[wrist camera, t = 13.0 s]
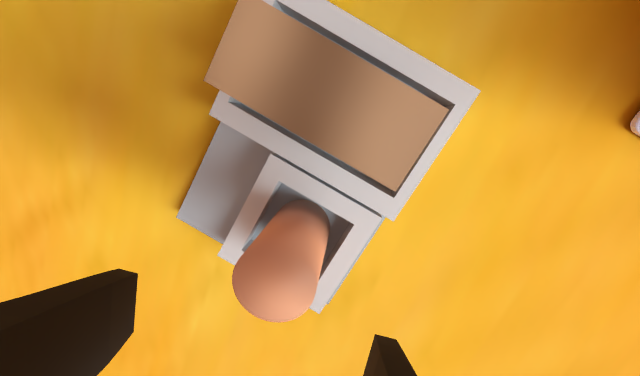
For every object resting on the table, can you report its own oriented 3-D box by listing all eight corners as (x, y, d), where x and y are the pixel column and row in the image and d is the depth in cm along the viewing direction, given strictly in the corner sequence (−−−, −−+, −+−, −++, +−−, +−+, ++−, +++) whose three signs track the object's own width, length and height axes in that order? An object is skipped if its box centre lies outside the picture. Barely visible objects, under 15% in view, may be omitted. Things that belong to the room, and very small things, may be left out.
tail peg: (341, 225, 18) (333, 283, 12) (305, 263, 19) (279, 337, 12) (298, 188, 18) (267, 226, 11) (263, 227, 18) (216, 284, 12)
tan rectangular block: (420, 112, 16) (449, 109, 11) (383, 169, 17) (395, 191, 12) (278, 29, 16) (242, -11, 11) (249, 91, 17) (203, 80, 12)
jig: (461, 95, 16) (480, 90, 14) (329, 297, 20) (325, 323, 17) (286, -8, 16) (273, -31, 14) (183, 213, 20) (157, 227, 17)
